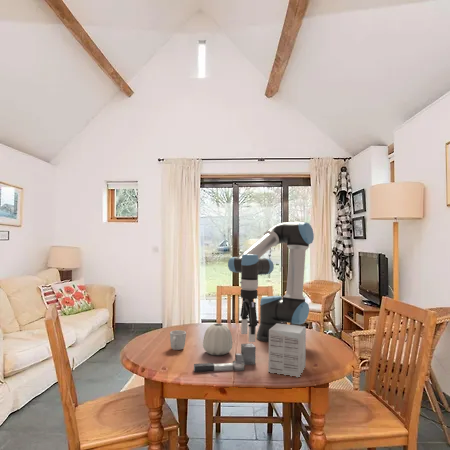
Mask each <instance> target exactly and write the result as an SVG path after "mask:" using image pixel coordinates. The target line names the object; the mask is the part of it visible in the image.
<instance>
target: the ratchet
mask: <svg viewBox="0 0 450 450" xmlns="http://www.w3.org/2000/svg"><path fill="white" fill-rule="evenodd" d="M234 359H235V360H234V361H232V362H231V363H229V362H228V363H227V362H226V363H214V362H207V363H206V362H203V363H193V371H194V373H207V372H208V373H209V372H222V371H223V372H224V371H225V372H227V371H235V372H236V371H237V372H242V371H245V365H244V362H243V361H242V355H241V352H240V353H235V358H234Z"/></svg>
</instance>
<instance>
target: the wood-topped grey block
mask: <svg viewBox="0 0 450 450" xmlns="http://www.w3.org/2000/svg"><path fill="white" fill-rule="evenodd" d="M256 351H257V349H256V345H254V342H250V343H241V345H240V353H241V355H242V361H243V362H244V366H251V365H256V355H257V354H256V353H257V352H256Z"/></svg>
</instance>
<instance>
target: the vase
mask: <svg viewBox="0 0 450 450" xmlns="http://www.w3.org/2000/svg"><path fill="white" fill-rule="evenodd" d="M202 341H203V342H202V346H203V347H202V348H203V349H204V351H205V352H206V353H207V354H208V355H212V356H224V355H227V354H228V353H229V352H230V351H231V350H232V349H233V337H232V332H231V330H230V329H229V328H228V326H227V325H225V324H223V323H213V324H211V325H210V326H208V327H207V328H206V330H205V332H204V335H203V340H202Z"/></svg>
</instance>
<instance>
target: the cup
mask: <svg viewBox="0 0 450 450" xmlns="http://www.w3.org/2000/svg"><path fill="white" fill-rule="evenodd" d="M169 337H170V339H169V340H170V348H171V349H172V350H173V351H181V350H183V349H185V345H186V338H187V332H186V331H185V330H181V329H180V330H177V329H176V330H171V331H170V332H169Z"/></svg>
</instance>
